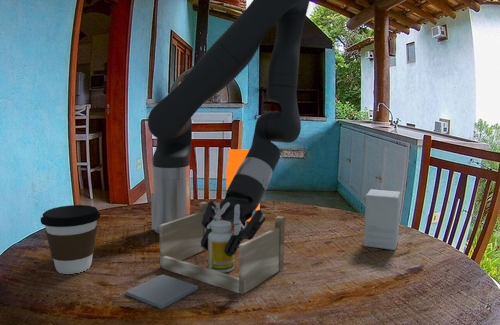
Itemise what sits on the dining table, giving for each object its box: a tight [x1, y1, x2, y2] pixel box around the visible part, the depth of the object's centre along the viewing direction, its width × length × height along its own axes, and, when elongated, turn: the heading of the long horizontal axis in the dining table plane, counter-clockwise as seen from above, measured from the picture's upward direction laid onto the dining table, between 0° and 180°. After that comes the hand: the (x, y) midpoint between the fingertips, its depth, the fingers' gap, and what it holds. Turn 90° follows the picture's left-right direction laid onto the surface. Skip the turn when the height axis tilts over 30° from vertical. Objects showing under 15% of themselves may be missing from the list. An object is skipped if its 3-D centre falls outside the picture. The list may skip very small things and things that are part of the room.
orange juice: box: [226, 148, 261, 222], centre depth 123 cm, size 8×9×20 cm
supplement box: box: [363, 188, 401, 251], centre depth 102 cm, size 7×7×13 cm
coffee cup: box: [40, 204, 101, 275], centre depth 85 cm, size 11×11×12 cm
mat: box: [124, 273, 199, 310], centre depth 76 cm, size 9×9×1 cm
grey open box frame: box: [159, 201, 286, 295], centre depth 86 cm, size 21×14×11 cm, turn 56°
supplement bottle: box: [207, 219, 235, 274], centre depth 86 cm, size 5×5×10 cm
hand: (215, 251), depth 85 cm, fingers closed on supplement bottle, 5 cm apart
